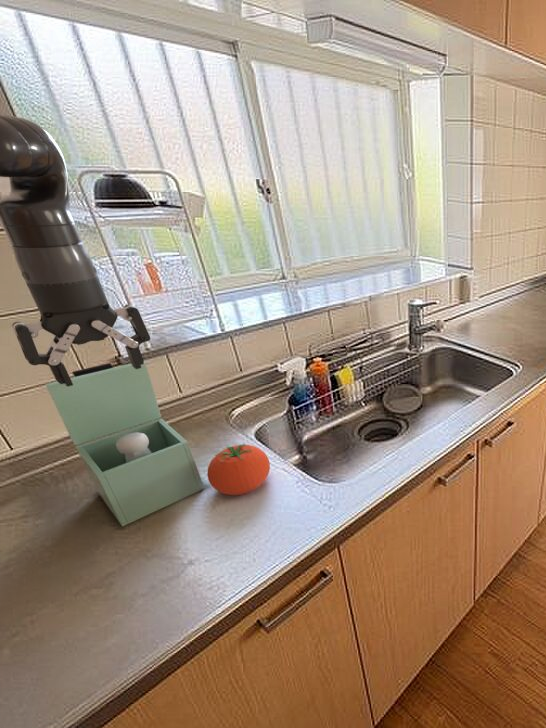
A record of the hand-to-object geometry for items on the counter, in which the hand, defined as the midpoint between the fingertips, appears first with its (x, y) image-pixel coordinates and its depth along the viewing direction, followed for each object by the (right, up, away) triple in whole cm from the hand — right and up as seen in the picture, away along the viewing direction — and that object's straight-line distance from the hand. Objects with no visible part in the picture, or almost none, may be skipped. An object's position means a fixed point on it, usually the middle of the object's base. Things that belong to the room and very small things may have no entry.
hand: (104, 375), depth 68 cm
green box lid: (-5, -5, +6) cm, 9 cm away
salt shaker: (-1, -22, +11) cm, 25 cm away
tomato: (+13, -22, +15) cm, 30 cm away
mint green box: (-2, -23, +12) cm, 26 cm away
